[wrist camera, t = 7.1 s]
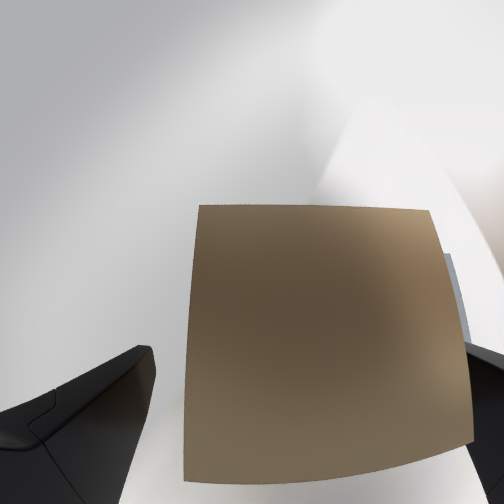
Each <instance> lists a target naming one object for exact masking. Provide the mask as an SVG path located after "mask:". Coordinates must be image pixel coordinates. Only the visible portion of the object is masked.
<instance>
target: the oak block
mask: <svg viewBox="0 0 504 504" xmlns="http://www.w3.org/2000/svg"><path fill="white" fill-rule="evenodd" d="M191 282H192V283H191V294H190V307H189V321H188V338H187V354H186V374H185V402H184V481H188V482H199V483H214V484H282V483H297V482H309V481H318V480H327V479H334V478H341V477H348V476H354V475H359V474H365V473H370V472H375V471H379V470H384V469H388V468H392V467H397V466H401V465H404V464H408V463H412V462H415V461H419V460H422V459H426V458H429V457H432V456H435V455H438V454H441V453H444V452H447V451H450V450H453V449H455V448H458V447H461V446H463V445H466V444H469V443H471V442H474V427H473V409H472V396H471V386H470V377H469V369H468V362H467V355H466V349H465V343H464V337H463V332H462V326H461V321H460V316H459V312H458V307H457V303H456V299H455V294H454V290H453V286H452V283H451V279H450V275H449V271H448V268H447V264H446V261H445V258H444V254H443V251H442V248H441V245H440V241H439V238H438V235H437V232H436V229H435V226H434V224H433V221H432V218H431V215H430V212H429V210H414V209H397V208H377V207H352V206H319V205H199V212H198V221H197V230H196V239H195V249H194V259H193V270H192V281H191Z"/></svg>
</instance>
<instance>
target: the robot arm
mask: <svg viewBox="0 0 504 504" xmlns="http://www.w3.org/2000/svg"><path fill="white" fill-rule="evenodd" d="M464 343H465V349H466V355H467V362H468V369H469V377H470V386H471V396H472V409H473V427H474V442H471V443H469V444H466V447H467V450H468V452H469V454H470V457H471V459H472V461H473V464H474V466H475V469H476V471H477V473H478V476H479V479H480V481H481V484H482V486H483V489H484V492H485V494H486V495H487V496H486V498H487V500H488V503H489V504H504V355H502V354H499V353H496V352H494V351H491V350H488V349H485V348H482V347H479V346H476V345H474V344H471V343H468V342H465V341H464ZM155 377H156V366H155V361H154V355H153V350H152V348H151V347H150V346H144V345H137V346H136V347H134V348H132V349H130V350H128V351H126V352H124V353H122V354H121V355H119V356H117V357H115V358H113V359H111V360H109V361H107V362H105V363H103V364H101V365H100V366H98V367H96V368H94V369H92V370H90V371H88V372H86V373H84V374H82V375H80V376H78V377H76V378H75V379H73V380H71V381H69V382H67V383H65V384H63V385H61V386H59V387H57V388H56V389H53V390H51V391H49V392H48V393H45V394H43V395H41V396H39V397H37V398H35V399H33V400H30V401H28V402H25V403H23V404H20V405H18V406H15V407H13V408H10V409H7V410H5V411H2V412H0V504H118V503H119V500H120V497H121V494H122V490H123V487H124V484H125V481H126V478H127V475H128V472H129V469H130V465H131V462H132V459H133V456H134V453H135V450H136V447H137V444H138V441H139V438H140V436H141V433H142V430H143V426H144V424H145V421H146V418H147V414H148V410H149V405H150V400H151V396H152V391H153V386H154V382H155Z"/></svg>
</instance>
